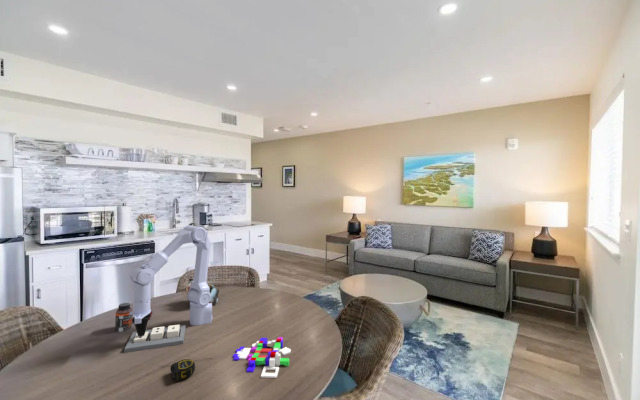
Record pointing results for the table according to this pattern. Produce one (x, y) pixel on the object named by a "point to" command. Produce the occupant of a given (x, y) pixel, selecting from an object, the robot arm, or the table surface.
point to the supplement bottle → (123, 318)
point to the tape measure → (182, 369)
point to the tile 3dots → (141, 338)
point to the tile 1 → (157, 333)
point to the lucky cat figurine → (213, 292)
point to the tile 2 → (173, 331)
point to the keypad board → (154, 341)
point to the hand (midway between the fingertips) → (141, 335)
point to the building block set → (264, 356)
